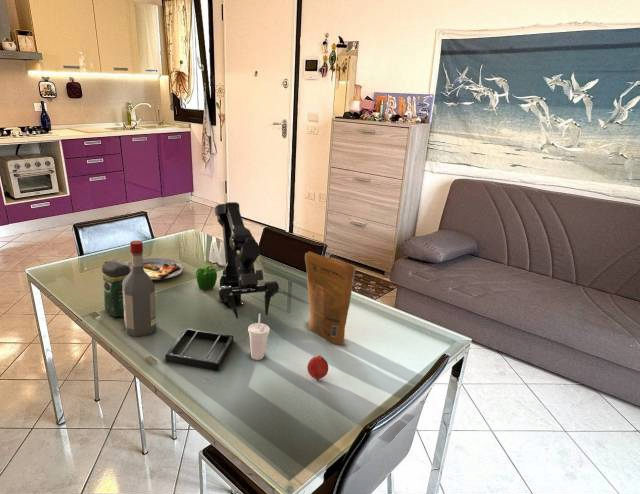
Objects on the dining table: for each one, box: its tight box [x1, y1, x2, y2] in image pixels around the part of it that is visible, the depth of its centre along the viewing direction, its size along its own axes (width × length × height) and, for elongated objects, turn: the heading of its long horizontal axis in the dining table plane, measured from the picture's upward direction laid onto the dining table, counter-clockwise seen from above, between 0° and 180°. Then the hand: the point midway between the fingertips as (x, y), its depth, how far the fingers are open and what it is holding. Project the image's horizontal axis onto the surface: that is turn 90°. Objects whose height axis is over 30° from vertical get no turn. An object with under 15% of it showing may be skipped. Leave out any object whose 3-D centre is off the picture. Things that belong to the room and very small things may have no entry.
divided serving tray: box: [164, 327, 235, 372], centre depth 132 cm, size 16×16×2 cm
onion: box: [306, 354, 329, 381], centre depth 121 cm, size 6×6×8 cm
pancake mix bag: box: [304, 250, 357, 346], centre depth 141 cm, size 7×19×28 cm, turn 37°
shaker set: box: [208, 240, 226, 268], centre depth 198 cm, size 12×4×11 cm, turn 43°
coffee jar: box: [101, 259, 130, 318], centre depth 150 cm, size 10×8×19 cm
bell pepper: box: [195, 264, 218, 292], centre depth 174 cm, size 8×8×10 cm
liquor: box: [122, 240, 157, 338], centre depth 138 cm, size 9×9×30 cm
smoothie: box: [247, 313, 271, 361], centre depth 129 cm, size 6×6×14 cm
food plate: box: [126, 257, 185, 281], centre depth 187 cm, size 25×23×4 cm
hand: (252, 317), depth 135 cm, fingers open, 9 cm apart
